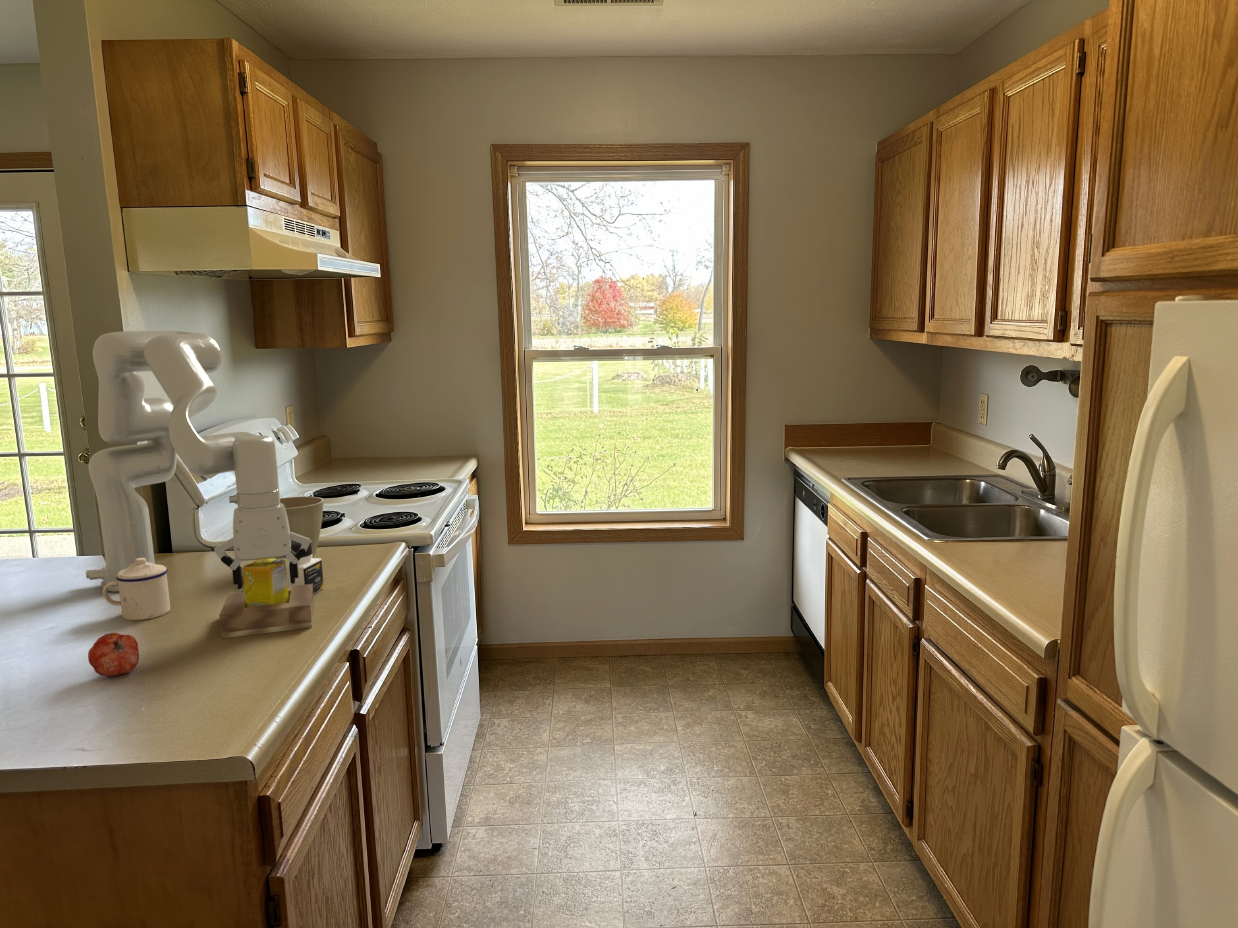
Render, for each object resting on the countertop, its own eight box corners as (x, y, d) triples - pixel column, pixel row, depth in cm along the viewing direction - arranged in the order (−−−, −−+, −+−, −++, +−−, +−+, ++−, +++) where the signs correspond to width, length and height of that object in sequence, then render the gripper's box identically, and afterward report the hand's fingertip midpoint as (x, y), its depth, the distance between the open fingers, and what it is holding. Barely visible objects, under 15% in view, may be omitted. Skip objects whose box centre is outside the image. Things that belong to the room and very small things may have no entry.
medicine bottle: (306, 599, 178) (301, 545, 176) (276, 597, 179) (271, 543, 177) (324, 589, 185) (320, 536, 183) (295, 587, 186) (290, 535, 184)
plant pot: (336, 567, 201) (330, 502, 198) (270, 579, 193) (264, 511, 190) (319, 554, 213) (314, 493, 210) (257, 564, 205) (251, 501, 202)
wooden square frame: (221, 638, 156) (219, 615, 156) (230, 614, 170) (228, 592, 169) (312, 627, 161) (310, 604, 161) (314, 604, 174) (312, 583, 174)
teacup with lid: (176, 604, 176) (170, 550, 174) (165, 618, 168) (158, 562, 166) (113, 610, 173) (106, 556, 171) (98, 625, 165) (91, 568, 163)
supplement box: (263, 610, 169) (258, 557, 167) (290, 610, 168) (286, 558, 166) (246, 620, 163) (241, 566, 161) (275, 621, 162) (270, 567, 160)
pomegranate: (87, 688, 141) (87, 669, 134) (88, 646, 144) (87, 626, 137) (138, 682, 145) (140, 663, 138) (137, 641, 148) (140, 621, 141)
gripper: (206, 507, 155) (216, 595, 158) (305, 499, 160) (313, 585, 163) (212, 499, 162) (221, 584, 165) (307, 492, 167) (314, 574, 170)
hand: (267, 584), depth 164 cm, fingers open, 9 cm apart
